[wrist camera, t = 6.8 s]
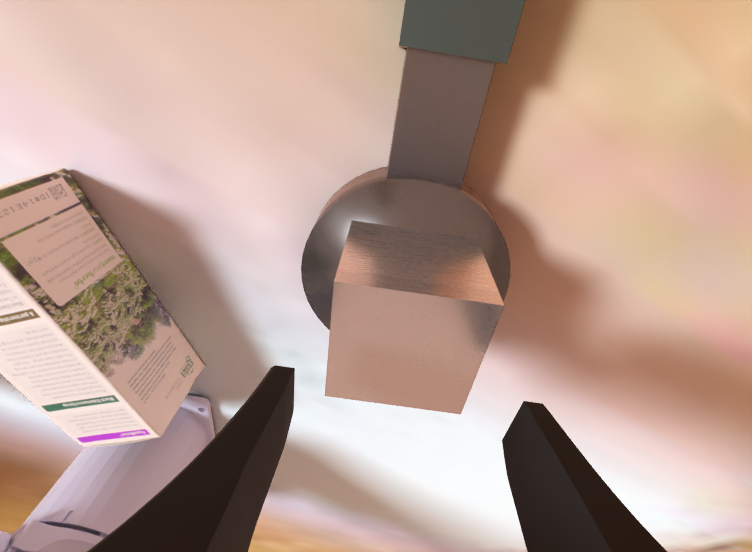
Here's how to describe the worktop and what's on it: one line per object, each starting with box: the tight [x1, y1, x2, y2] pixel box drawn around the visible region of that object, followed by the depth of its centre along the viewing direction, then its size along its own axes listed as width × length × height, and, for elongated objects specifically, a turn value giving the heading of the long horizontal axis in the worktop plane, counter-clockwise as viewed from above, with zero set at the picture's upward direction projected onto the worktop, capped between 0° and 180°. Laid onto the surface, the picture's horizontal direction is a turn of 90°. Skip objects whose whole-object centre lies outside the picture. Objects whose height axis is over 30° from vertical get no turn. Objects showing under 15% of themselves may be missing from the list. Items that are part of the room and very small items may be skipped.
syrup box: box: [0, 168, 205, 447], centre depth 19 cm, size 6×6×14 cm
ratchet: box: [301, 0, 525, 330], centre depth 14 cm, size 20×10×6 cm, turn 172°
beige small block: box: [325, 220, 504, 414], centre depth 15 cm, size 6×6×5 cm
